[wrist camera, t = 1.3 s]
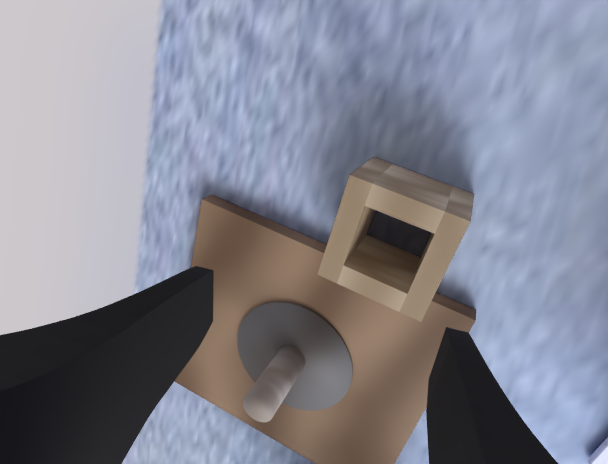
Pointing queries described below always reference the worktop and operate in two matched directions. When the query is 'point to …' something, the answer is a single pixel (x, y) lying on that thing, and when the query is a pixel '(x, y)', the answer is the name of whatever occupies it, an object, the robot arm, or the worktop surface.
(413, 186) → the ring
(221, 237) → the post board
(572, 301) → the worktop surface
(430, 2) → the worktop surface
